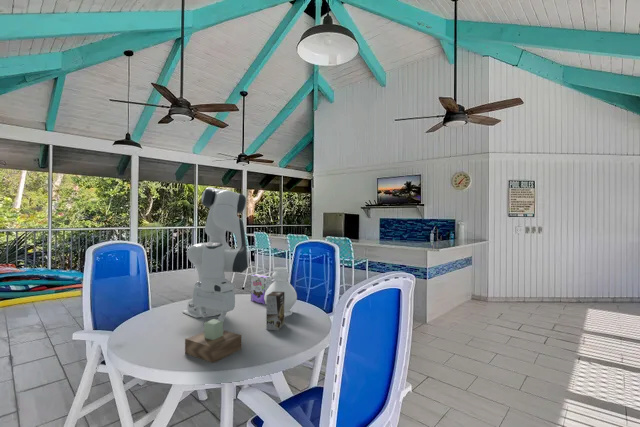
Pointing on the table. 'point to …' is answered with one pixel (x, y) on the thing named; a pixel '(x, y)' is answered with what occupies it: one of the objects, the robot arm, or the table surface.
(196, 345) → the walnut block
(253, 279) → the candy box
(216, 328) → the sage block
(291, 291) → the decorative vase
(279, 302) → the coffee box
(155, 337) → the table surface
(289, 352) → the table surface
